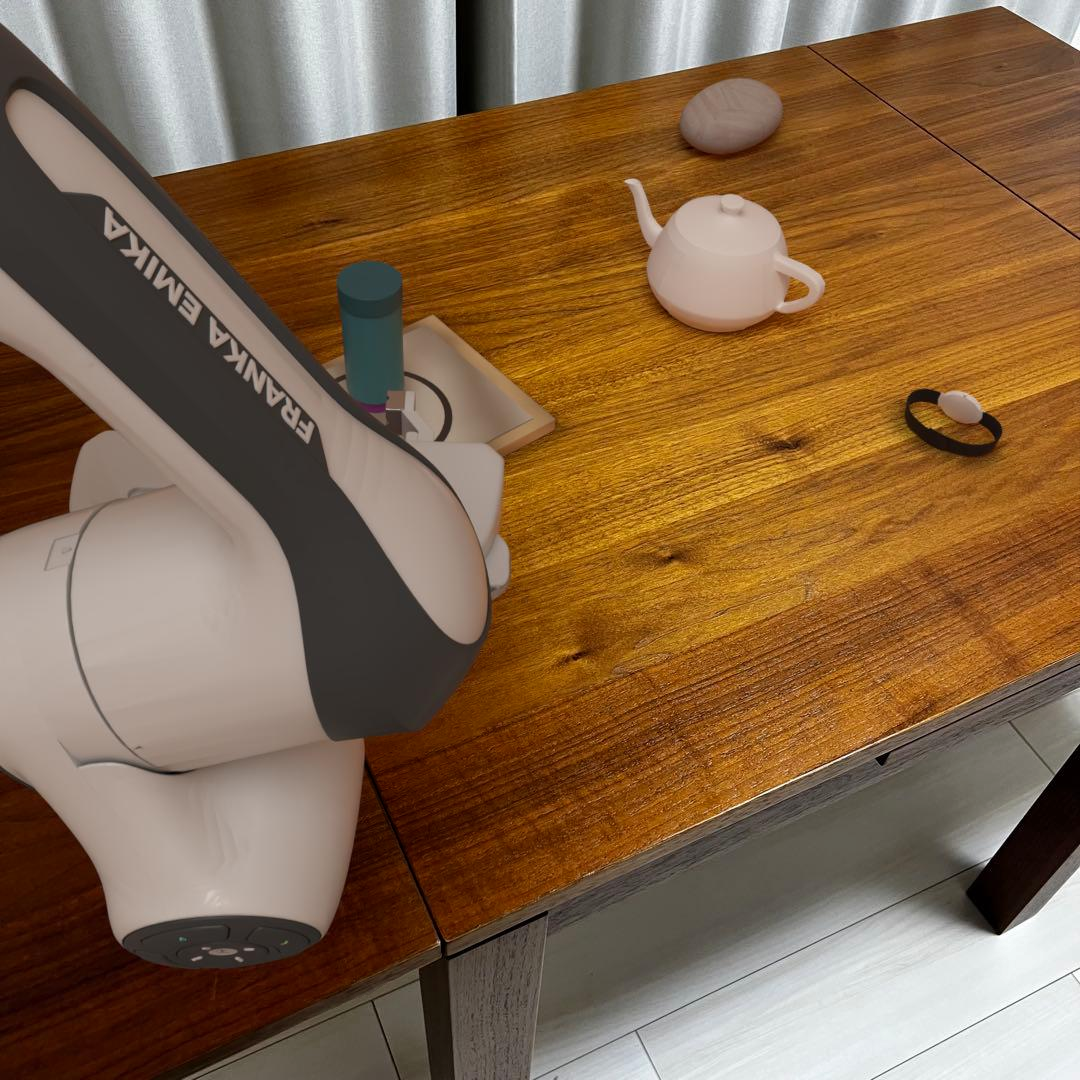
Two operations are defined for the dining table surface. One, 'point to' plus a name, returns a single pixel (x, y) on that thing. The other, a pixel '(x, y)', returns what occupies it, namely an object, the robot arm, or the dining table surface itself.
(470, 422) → the drawing board
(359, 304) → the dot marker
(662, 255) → the teapot
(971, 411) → the watch
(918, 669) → the dining table surface
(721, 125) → the decorative stone
